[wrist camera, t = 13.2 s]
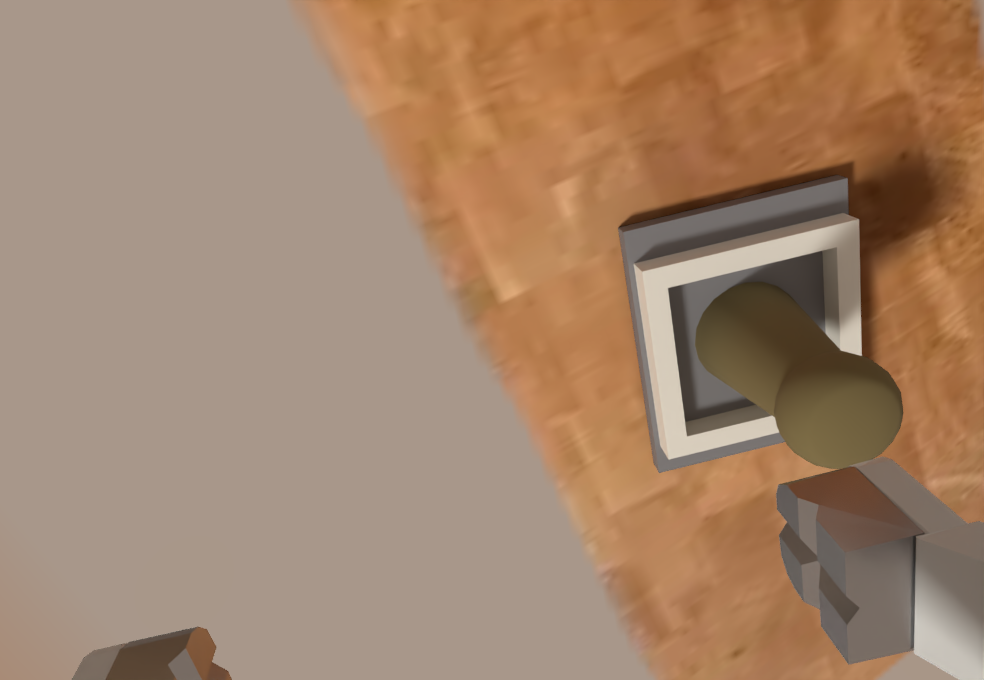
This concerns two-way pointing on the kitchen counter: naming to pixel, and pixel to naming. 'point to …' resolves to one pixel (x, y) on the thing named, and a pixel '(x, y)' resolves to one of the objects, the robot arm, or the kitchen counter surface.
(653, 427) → the notch board
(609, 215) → the kitchen counter surface
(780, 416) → the olive knobbed peg
